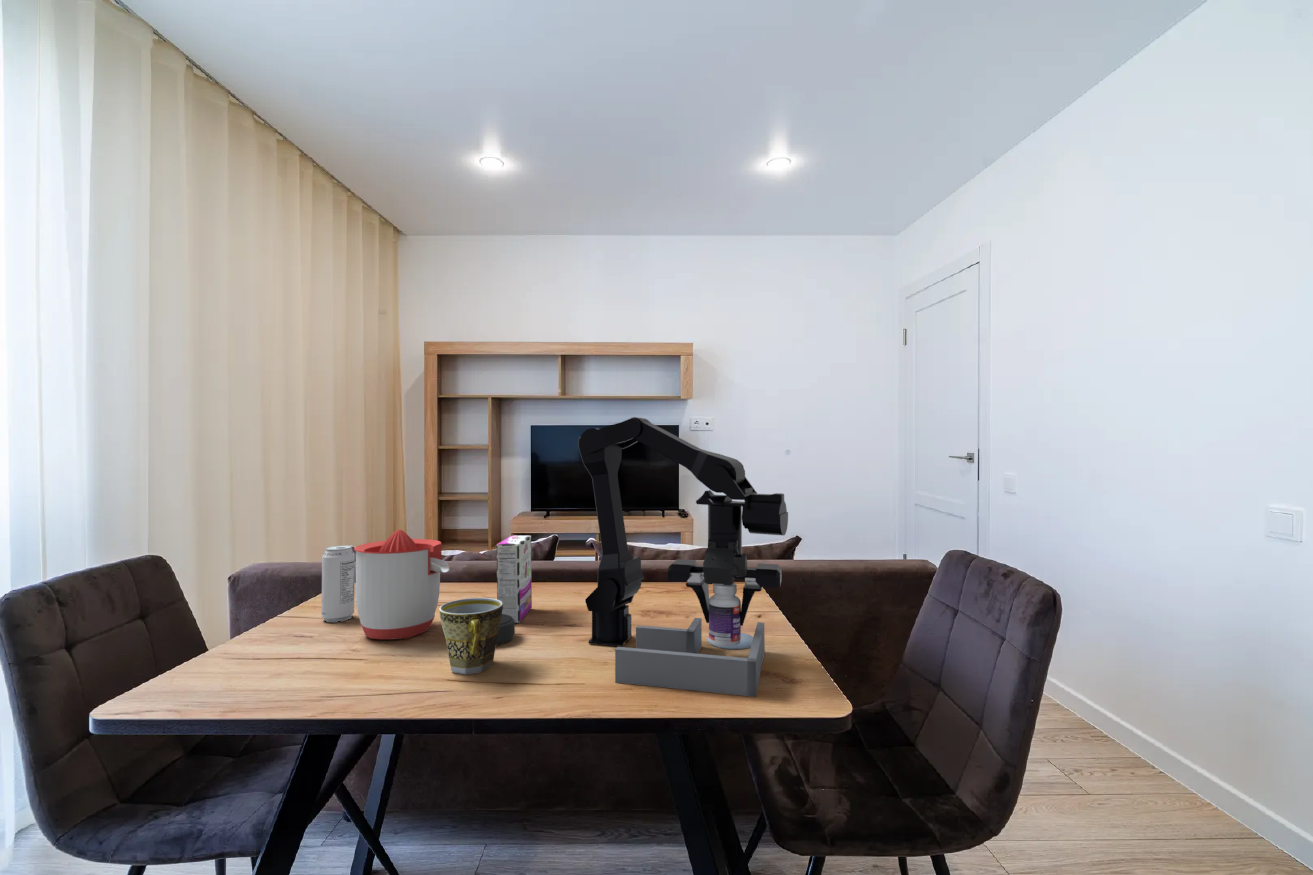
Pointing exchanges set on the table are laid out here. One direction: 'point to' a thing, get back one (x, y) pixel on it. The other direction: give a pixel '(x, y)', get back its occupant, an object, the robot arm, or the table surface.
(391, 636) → the citrus juicer
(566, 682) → the table surface
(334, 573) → the energy drink can
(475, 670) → the ceramic cup
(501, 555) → the candy bar box
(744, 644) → the pad
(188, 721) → the table surface
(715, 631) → the pill bottle
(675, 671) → the channel
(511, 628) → the smart speaker
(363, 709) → the table surface
